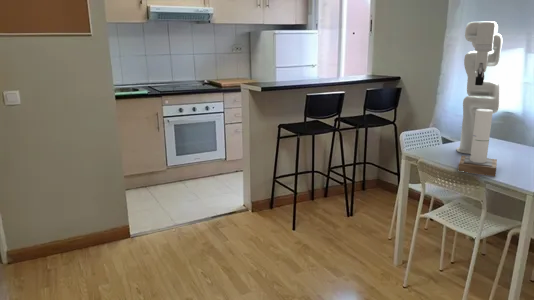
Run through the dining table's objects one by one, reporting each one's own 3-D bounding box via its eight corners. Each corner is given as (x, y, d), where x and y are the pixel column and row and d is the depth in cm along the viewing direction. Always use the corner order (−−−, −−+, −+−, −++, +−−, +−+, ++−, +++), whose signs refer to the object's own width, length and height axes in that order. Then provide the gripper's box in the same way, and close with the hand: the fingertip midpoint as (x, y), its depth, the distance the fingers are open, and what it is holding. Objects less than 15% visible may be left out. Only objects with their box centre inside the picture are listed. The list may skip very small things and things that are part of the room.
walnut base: (460, 162, 215) (461, 154, 214) (495, 167, 208) (497, 158, 207) (457, 171, 202) (458, 163, 200) (495, 176, 194) (496, 167, 193)
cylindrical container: (479, 158, 208) (485, 108, 201) (489, 162, 201) (496, 111, 194) (466, 159, 206) (472, 109, 200) (476, 163, 200) (483, 111, 193)
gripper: (475, 47, 210) (471, 82, 214) (473, 49, 195) (469, 85, 200) (492, 47, 206) (488, 82, 211) (491, 49, 191) (487, 86, 196)
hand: (479, 84), depth 205 cm, fingers open, 9 cm apart
